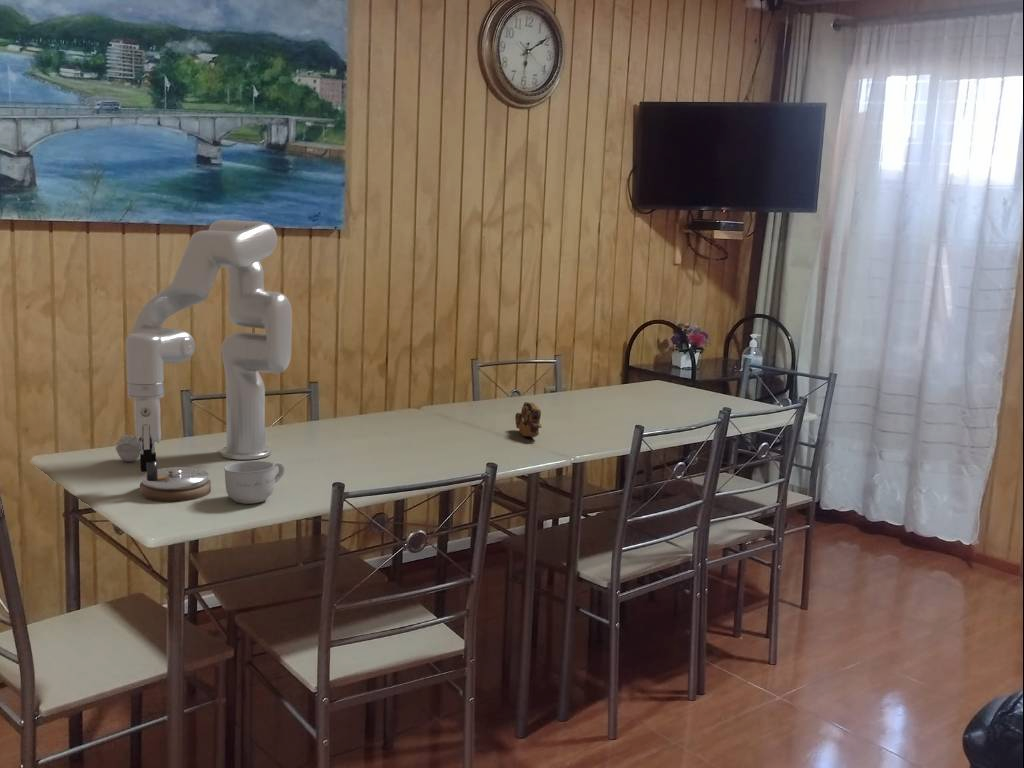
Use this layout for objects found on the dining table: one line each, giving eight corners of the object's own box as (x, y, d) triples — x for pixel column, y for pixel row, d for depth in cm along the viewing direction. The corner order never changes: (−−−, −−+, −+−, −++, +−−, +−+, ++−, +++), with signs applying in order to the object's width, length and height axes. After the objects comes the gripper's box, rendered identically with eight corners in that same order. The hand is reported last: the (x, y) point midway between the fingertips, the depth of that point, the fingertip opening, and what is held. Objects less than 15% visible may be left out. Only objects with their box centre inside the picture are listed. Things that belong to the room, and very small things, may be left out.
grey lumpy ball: (113, 465, 241) (112, 437, 239) (118, 458, 247) (118, 430, 246) (140, 465, 242) (139, 437, 240) (144, 457, 248) (144, 430, 247)
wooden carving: (508, 430, 296) (510, 397, 294) (522, 429, 298) (524, 397, 296) (531, 443, 281) (533, 409, 279) (546, 442, 283) (547, 408, 281)
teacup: (235, 510, 211) (234, 474, 209) (217, 497, 220) (216, 462, 218) (296, 501, 219) (296, 466, 218) (276, 488, 228) (276, 454, 226)
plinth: (141, 484, 226) (141, 475, 226) (209, 481, 231) (209, 472, 231) (138, 503, 212) (138, 494, 212) (211, 499, 217) (211, 491, 217)
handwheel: (161, 494, 212) (161, 469, 211) (130, 480, 221) (129, 456, 220) (220, 483, 222) (220, 459, 221) (188, 470, 231) (187, 447, 230)
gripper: (163, 396, 210) (165, 479, 214) (164, 382, 224) (167, 461, 228) (125, 397, 208) (128, 481, 212) (129, 383, 222) (132, 462, 225)
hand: (148, 470), depth 220 cm, fingers closed
